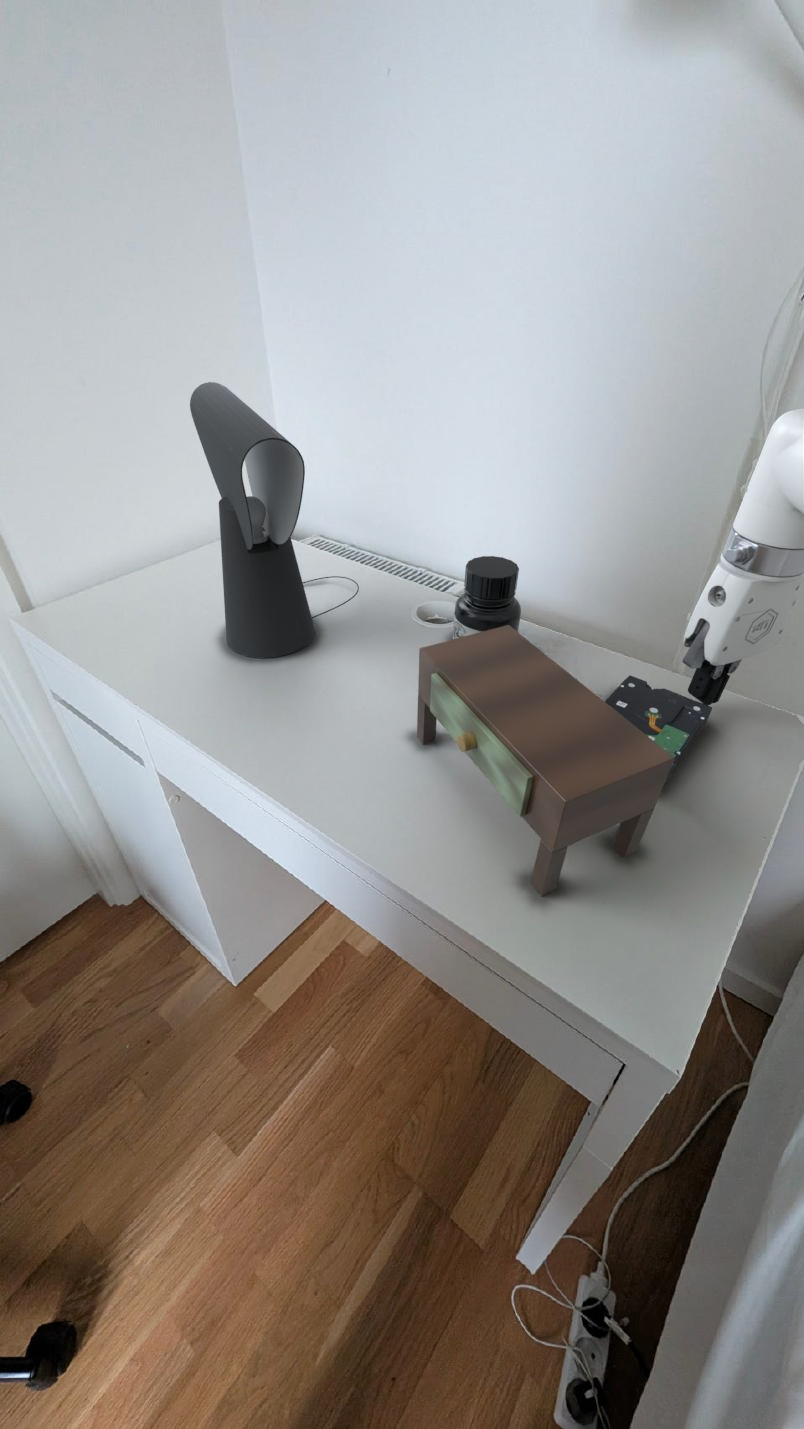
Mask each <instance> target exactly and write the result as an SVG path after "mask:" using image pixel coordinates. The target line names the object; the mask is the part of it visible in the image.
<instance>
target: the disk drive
mask: <svg viewBox="0 0 804 1429" xmlns="http://www.w3.org/2000/svg"><path fill="white" fill-rule="evenodd" d="M604 702H605V703H607V704H608V705H609V706H610V707H612V708H613V709H614V710H615V711H617V712H618V713H619V714H620V715H622V716H623V717H624V718H625V719H627V720H628V721H629V722H630V723H632V724H633V725H634V726H635V727H637V728H638V729H639V730H640V731H642V732H643V733H644V734H645V735H647V736H648V737H649V738H650V739H652V740H653V741H654V742H655V743H657V744H658V745H659V746H660V747H662V748H663V749H664V750H665V751H667V752H668V753H669V754H670V755H672V756H673V757H674V758H675V759H674V761H673V764H672V766H671V769H670V771H669V773H668V776H667V778H666V781H665V783H664V785H665V784H666V783H667V781H668V780H670V777H671V776H672V775H673V773H674V771H675V770H676V769H677V766H678V765H679V764H680V762H681V761H682V759H683V757H685V755H686V753H687V752H688V751H689V749H690V747H691V746H692V744H693V743H694V741H695V740H696V738H697V737H698V736H699V734H700V733H701V732H702V730H703V728H704V727H705V725H706V724H707V722H708V719H709V717H710V715H711V713H712V711H713V707H712V706H711V705H705V704H703V703H702V702H700V701H699V700H698V701H697V700H693V699H692V698H689V697H686V696H684V695H681V694H679V693H677V692H675V691H672V690H670V689H668V688H652V686H650V684H648V681H646V680H643V679H641V678H638V677H636V676H633V675H631V674H630V675H628V676H627V677H626V678H624V680H623V681H622V682H621V683H620V684H619V685H618V687H616V688H615V689H614V691H613V692H612V693H611V694H610V695H609V696H608V697H607V698H606V700H604Z"/></svg>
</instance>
